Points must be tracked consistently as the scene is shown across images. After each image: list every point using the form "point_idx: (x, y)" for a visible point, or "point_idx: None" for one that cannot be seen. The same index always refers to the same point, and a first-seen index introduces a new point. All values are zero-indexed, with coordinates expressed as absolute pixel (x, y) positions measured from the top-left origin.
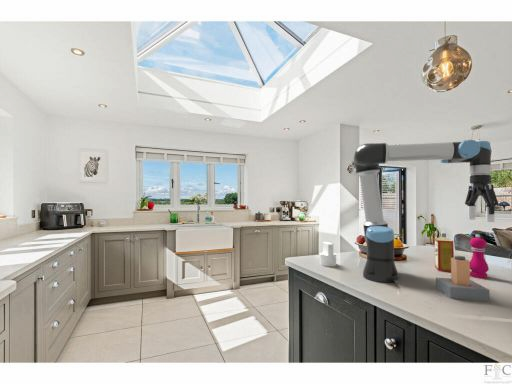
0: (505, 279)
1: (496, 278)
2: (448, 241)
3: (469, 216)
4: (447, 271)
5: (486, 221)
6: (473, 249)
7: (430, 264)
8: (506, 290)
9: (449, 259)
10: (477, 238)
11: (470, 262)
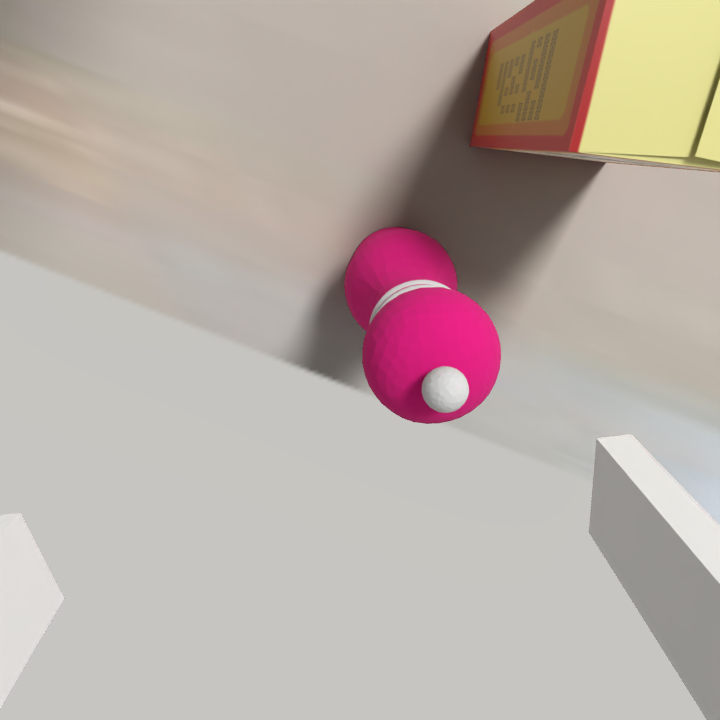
0: None
1: None
2: (579, 91)
3: (632, 488)
4: (479, 100)
5: (9, 517)
6: (401, 289)
7: None
8: (119, 293)
9: (503, 111)
10: (409, 364)
11: (404, 243)
